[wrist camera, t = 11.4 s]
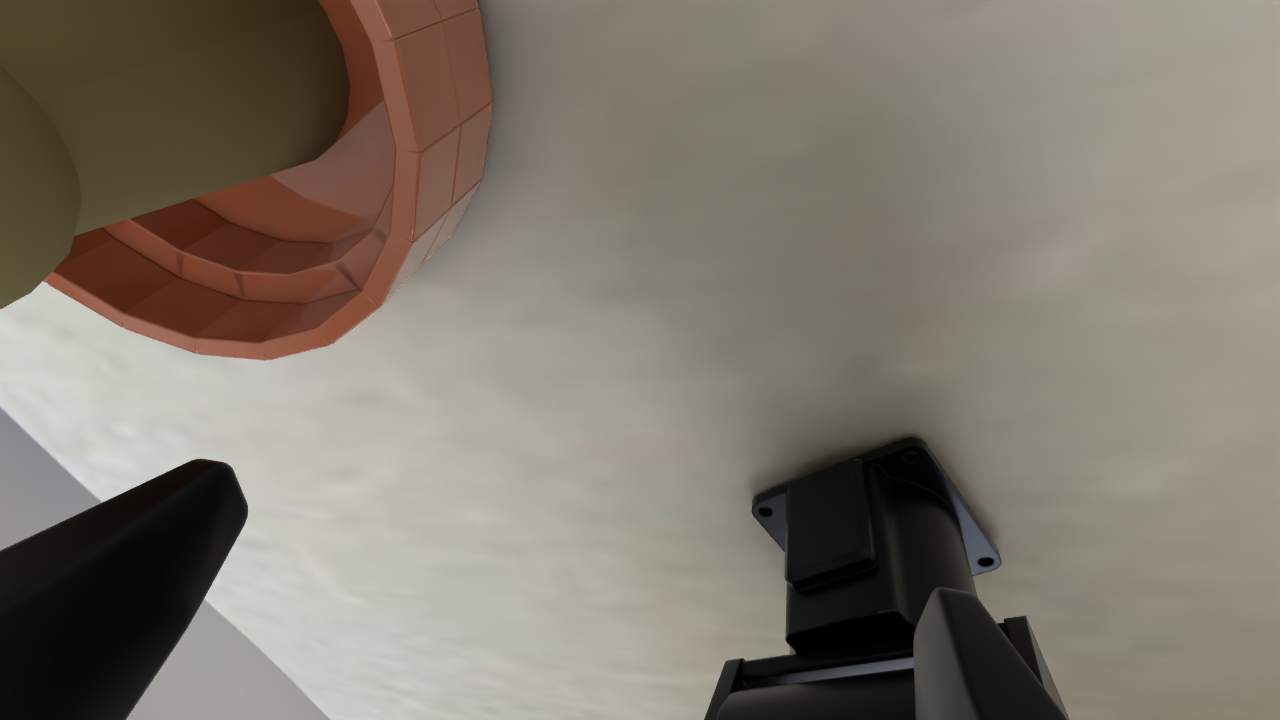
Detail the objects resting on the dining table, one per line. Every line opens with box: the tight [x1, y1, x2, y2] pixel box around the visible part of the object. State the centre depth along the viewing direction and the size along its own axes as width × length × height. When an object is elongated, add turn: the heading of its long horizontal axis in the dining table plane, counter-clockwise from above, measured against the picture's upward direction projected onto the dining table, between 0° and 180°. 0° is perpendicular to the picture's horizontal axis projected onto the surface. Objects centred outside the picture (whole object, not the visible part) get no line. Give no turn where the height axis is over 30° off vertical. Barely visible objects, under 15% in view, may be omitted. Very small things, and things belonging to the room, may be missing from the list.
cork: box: [0, 0, 350, 309], centre depth 15 cm, size 6×6×11 cm
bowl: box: [43, 0, 493, 360], centre depth 17 cm, size 14×14×5 cm
